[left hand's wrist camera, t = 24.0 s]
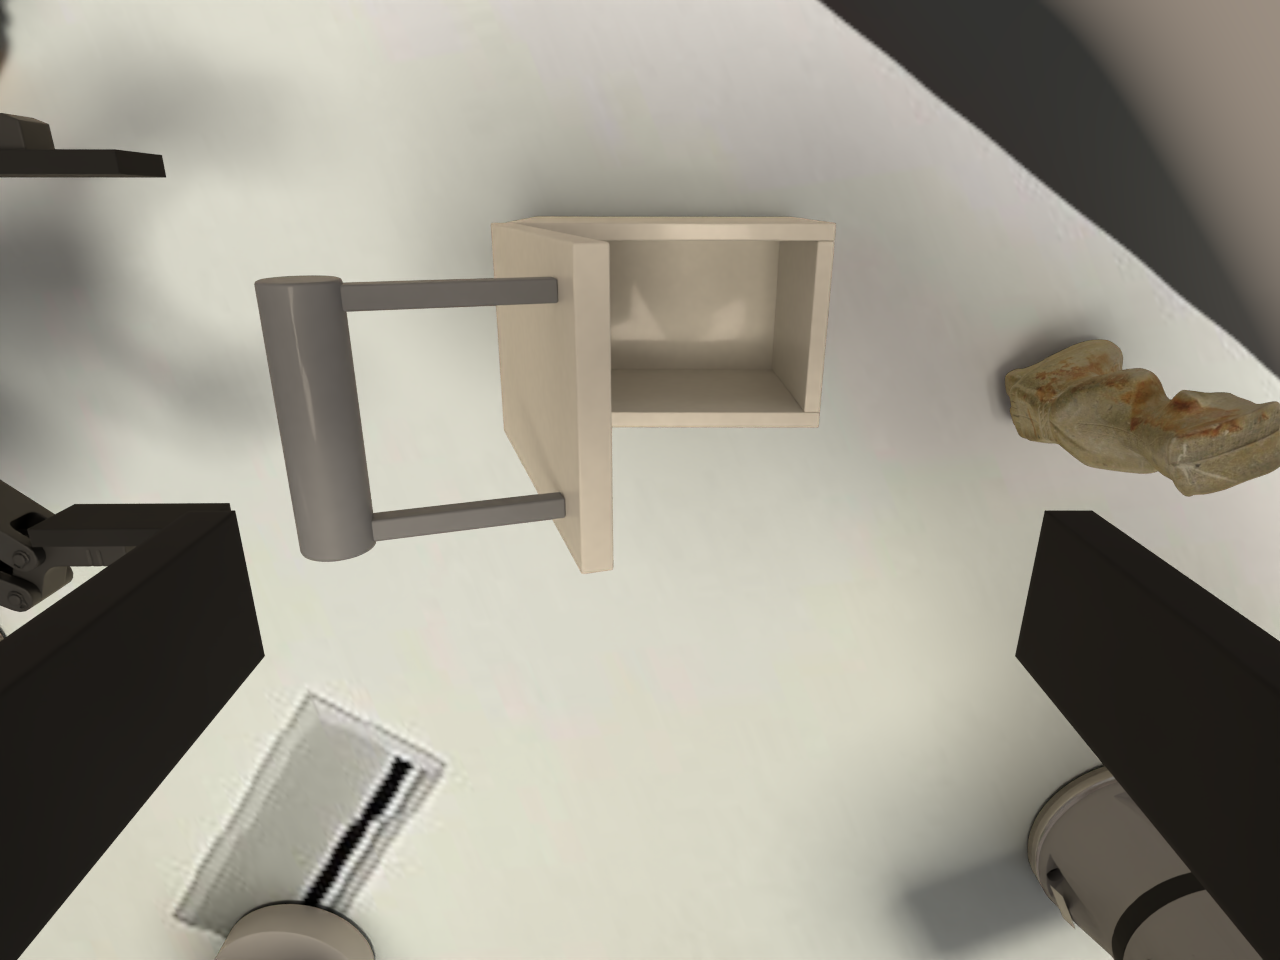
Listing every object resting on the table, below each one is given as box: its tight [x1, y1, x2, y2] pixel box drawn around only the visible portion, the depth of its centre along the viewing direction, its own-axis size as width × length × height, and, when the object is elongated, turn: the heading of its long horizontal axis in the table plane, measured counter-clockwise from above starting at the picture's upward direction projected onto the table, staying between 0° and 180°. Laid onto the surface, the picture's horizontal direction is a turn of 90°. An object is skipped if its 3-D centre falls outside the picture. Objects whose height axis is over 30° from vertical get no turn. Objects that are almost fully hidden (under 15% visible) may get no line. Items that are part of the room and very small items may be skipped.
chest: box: [506, 216, 836, 428], centre depth 41 cm, size 15×10×11 cm, turn 90°
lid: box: [254, 223, 613, 574], centre depth 27 cm, size 16×10×9 cm
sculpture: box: [1005, 340, 1280, 497], centre depth 41 cm, size 6×7×15 cm
